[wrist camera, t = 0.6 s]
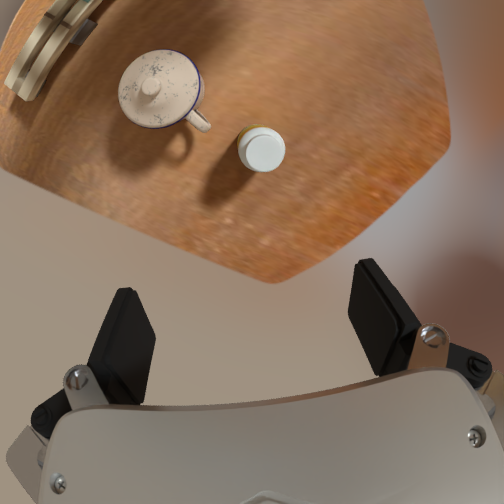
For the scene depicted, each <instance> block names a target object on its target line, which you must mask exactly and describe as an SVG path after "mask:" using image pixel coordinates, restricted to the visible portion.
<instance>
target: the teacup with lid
mask: <svg viewBox="0 0 504 504" xmlns="http://www.w3.org/2000/svg"><path fill="white" fill-rule="evenodd" d="M204 92H205V86H204V81H203V78H202V76H201V75H200V73H199V72H198V69H197V67H196V66H195V64H194V63H193V62H192V60H191V59H189V58H188V57H187V56H186V55H184V54H182V53H180V52H178V51H174V50H169V49H159V50H154V51H150V52H148V53H145V54H143V55H142V56H140V57H138V58H137V59H135V60H134V61H133V62H132V63H131V64H130V65H129V66H128V67H127V69H126V70H125V72H124V73H123V75H122V77H121V80H120V83H119V88H118V99H119V103H120V106H121V109H122V111H123V112H124V114H125V115H126V116H127V117H128V118H129V120H131V121H132V122H133V123H135V124H137V125H139V126H141V127H145V128H150V129H159V128H165V127H168V126H171V125H173V124H175V123H177V122H179V121H180V120H183V119H186V120H187V121H189V122H190V123H191V124H192V125H193V126H194V127H195V128H197V129H198V130H199V131H201V132H203V133H206V132H207V131H209V130H210V128H211V125H210V123H209V122H208V120H207V119H206V118H205V117H204V116H203V115H202V114H201V113H200V112H199V111H198V110H197V109H198V107H199V106H200V104H201V102H202V100H203V97H204Z"/></svg>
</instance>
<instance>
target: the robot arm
mask: <svg viewBox="0 0 504 504" xmlns="http://www.w3.org/2000/svg"><path fill="white" fill-rule="evenodd" d="M348 316H349V319H350V321H351V323H352V325H353V327H354V329H355V332H356V334H357V336H358V338H359V340H360V342H361V345H362V347H363V349H364V351H365V353H366V356H367V358H368V360H369V362H370V364H371V367H372V369H373V372H374V374H375V375H376V376H377V375H379V377H378V378H374V379H371V380H367V381H363V382H359V383H354V384H350V385H346V386H342V387H337V388H333V389H329V390H324V391H318V392H313V393H308V394H302V395H296V396H290V397H283V398H276V399H269V400H261V401H253V402H242V403H231V404H215V405H193V406H147V405H140V403H143V402H144V397H145V392H146V386H147V381H148V375H149V370H150V365H151V360H152V355H153V350H154V346H155V341H156V337H155V333H154V331H153V329H152V326H151V324H150V322H149V320H148V317H147V315H146V313H145V311H144V308H143V306H142V303H141V301H140V299H139V297H138V294H137V292H136V291H135V290H133V289H132V288H130V287H128V288H119V289H118V290H117V292H116V294H115V296H114V298H113V301H112V303H111V305H110V308H109V310H108V312H107V314H106V317H105V319H104V321H103V324H102V326H101V329H100V331H99V333H98V336H97V338H96V341H95V343H94V346H93V349H92V352H91V354H90V357H89V359H88V363H87V365H76V366H74V367H72V368H71V369H69V371H68V372H67V373H66V374H65V376H64V379H63V386H64V389H62V390H61V391H59V392H58V393H56V394H55V395H53V396H52V397H51V398H49V399H48V400H46V401H45V402H44V403H42V404H40V405H39V406H38V407H36V408H35V410H34V411H33V413H32V416H31V424H32V425H31V426H27V427H26V428H25V429H24V430H23V431H22V433H21V434H20V435H19V436H18V438H17V439H16V440H15V441H14V443H13V444H12V445H11V447H10V448H9V449H8V451H7V454H6V461H7V464H8V466H9V467H10V469H11V471H12V472H13V473H14V475H15V476H16V478H17V479H18V481H19V482H20V483H21V485H22V486H23V488H24V489H25V490H26V492H27V493H28V494H29V495H30V497H31V498H32V499H33V500H34V502H35V503H36V504H504V375H503V374H502V373H500V372H499V371H498V370H496V371H495V372H494V371H492V365H491V362H490V361H489V360H488V358H487V357H486V356H484V355H482V354H480V353H478V352H475V351H472V350H469V349H466V348H464V347H461V346H458V345H455V344H453V343H450V339H449V335H448V333H447V331H446V330H445V329H444V328H443V327H441V326H439V325H437V324H432V323H429V324H425V325H421V323H420V322H419V320H418V319H417V317H416V316H415V314H414V313H413V312H412V310H411V309H410V307H409V306H408V304H407V303H406V301H405V300H404V299H403V297H402V296H401V294H400V293H399V292H398V290H397V289H396V288H395V287H394V286H393V285H392V283H391V282H390V280H388V278H387V276H386V275H385V274H384V272H383V271H382V270H381V268H380V267H379V266H378V265H377V264H376V262H375V261H374V259H372V258H368V259H362V260H359V262H358V264H355V268H354V275H353V282H352V288H351V295H350V301H349V307H348Z"/></svg>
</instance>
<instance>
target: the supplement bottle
mask: <svg viewBox="0 0 504 504" xmlns="http://www.w3.org/2000/svg"><path fill="white" fill-rule="evenodd" d="M237 147H238V154H239V157H240V159H241V161H242V163H243V164H244V165H245V166H246V167H247V168H249V169H251V170H253V171H256V172H268V171H272V170H274V169H275V168H277V167H278V166H279V165H280V163H281V162H282V160H283V158H284V155H285V144H284V141H283V139H282V138H281V136H280V135H279V134H278V133H277V132H276V131H274V130H272V129H270V128H268V127H267V126H264V125H260V124H255V125H250V126H248V127H246V128H244V129H243V130H242V131H241V133H240V134H239V136H238V140H237Z"/></svg>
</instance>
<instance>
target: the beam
mask: <svg viewBox="0 0 504 504" xmlns="http://www.w3.org/2000/svg"><path fill="white" fill-rule="evenodd" d="M76 1H77V0H56V1H55V2H54V3H53V4H52V6H51V7H50V8H49V10H48V11H47V12H46V13H45V14H44V16H43V18H42V19H41V21H40V22H39V23H38V25H37V26H36V28H35V29H34V31H33V32H32V34H31V35H30V37H29V39H28V40H27V42H26V43H25V45H24V47H23V48H22V50H21V52H20V53H19V55H18V57H17V59H16V61H15V62H14V64H13V66H12V68H11V70H10V72H9V74H8V76H7V78H6V80H5V82H4V84H5V85H7V86H8V87H9V88H10V89H11V90H12V91H14V92H15V93H16V94H17V95H18V96H20V97H21V98H22V99H23V100H24V101H34V99H35V97H38V95H39V93H40V91H41V89H42V88H43V86H44V84H45V82H46V81H47V80H45V79H46V77H47V75H48V73H49V72H50V70H51V68H52V67H53V65H54V64H55V62H56V61H57V59H58V57H59V56H60V54H61V53H62V51H63V50H64V49H65V47H66V46H67V44H68V43H69V42H70V43H73V44H76V45H80V46H81V45H82V44H83V42H84V41H85V40H86V38H87V37H88V36H89V34H90V33H91V32H92V31H93V29H94V28H95V27H96V26H97V24H96V23H95V22H93V21H91V20H89V19H88V17H89V16H90V15H91V13H92V12H93V11H94V10H95V9H96V8H97V6H98V5H99V4H100V3H101V2H102V1H103V0H90V1H89V2H88V3H87V2H85V1H83V0H79V1H78V2H77V3H76V4H75V5H74V3H75V2H76ZM73 5H74V7H73V8H72V9H70V8H71V7H72V6H73ZM52 32H54V33H53V34H52ZM51 34H52V36H51V37H50V39H49V40H48V42H47V43H46V45H45V46H44V48H43V49H42V47H43V45H44V44H45V42H46V41H47V39H48V38H49V36H50V35H51ZM41 49H42V51H41V53H40V54H39V56H38V57H37V55H38V53H39V52H40V50H41ZM36 57H37V59H36V61H35V62H34V60H35V58H36ZM33 62H34V64H33V66H32V68H30V67H31V65H32V63H33Z"/></svg>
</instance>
